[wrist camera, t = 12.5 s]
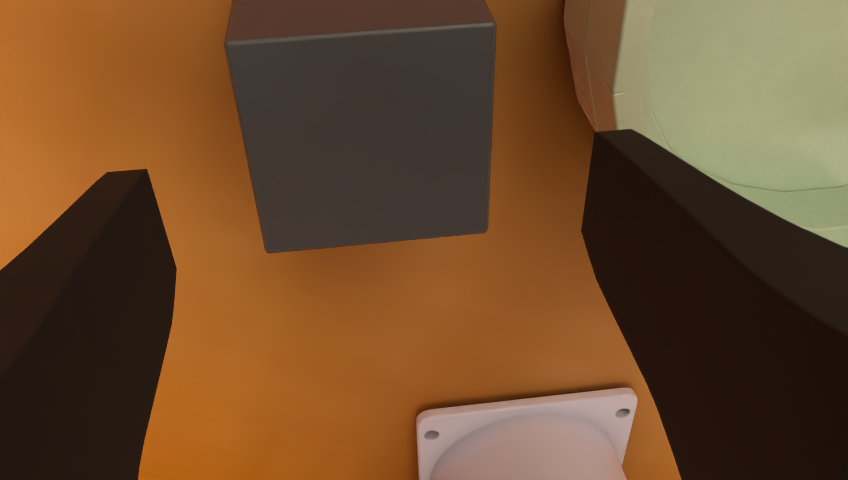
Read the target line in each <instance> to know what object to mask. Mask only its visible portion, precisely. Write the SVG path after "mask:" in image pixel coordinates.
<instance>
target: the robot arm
mask: <svg viewBox="0 0 848 480" xmlns="http://www.w3.org/2000/svg"><path fill="white" fill-rule="evenodd" d="M581 231H582V235H583V238H584V241H585V245H586V248H587V252H588V255H589V258H590V261H591V264H592V267H593V270H594V273H595V277H596V280H597V282H598V284H599V286H600V288H601V290H602V293H603V295H604V297H605V299H606V301H607V303H608V305H609V307H610V309H611V311H612V313H613V316H614V318H615V320H616V322H617V324H618V326H619V328H620V330H621V332H622V334H623V336H624V338H625V340H626V342H627V344H628V346H629V348H630V350H631V352H632V354H633V357H634V359H635V361H636V363H637V365H638V367H639V369H640V371H641V373H642V375H643V377H644V379H645V381H646V383H647V385H648V388H649V390H650V392H651V395H652V397H653V399H654V402H655V404H656V407H657V409H658V412H659V415H660V418H661V421H662V423H663V426H664V429H665V432H666V435H667V438H668V440H669V443H670V446H671V449H672V452H673V455H674V457H675V461H676V464H677V467H678V470H679V473H680V476H681V479H682V480H848V248H847V247H844V246H842V245H839V244H837V243H835V242H833V241H830V240H828V239H826V238H824V237H822V236H819V235H817V234H815V233H813V232H810V231H808V230H806V229H804V228H801V227H799V226H797V225H795V224H793V223H791V222H789V221H787V220H785V219H783V218H781V217H779V216H777V215H776V214H774V213H772V212H770V211H768V210H766V209H764V208H763V207H761V206H759V205H757V204H755V203H753V202H752V201H750V200H748V199H746V198H744V197H743V196H741V195H739V194H737V193H736V192H734V191H732V190H731V189H729V188H727V187H726V186H724V185H722V184H721V183H719V182H717V181H716V180H714V179H712V178H711V177H709V176H708V175H706V174H704V173H703V172H701V171H700V170H698V169H696V168H695V167H693V166H692V165H690V164H688V163H687V162H685V161H684V160H682V159H681V158H679V157H677V156H676V155H674V154H673V153H671V152H670V151H668V150H666V149H665V148H663V147H662V146H660V145H659V144H657V143H655V142H654V141H652V140H650V139H649V138H647V137H645V136H644V135H642V134H640V133H638V132H636V131H634V130H633V129H622V130H610V131H598V132H595V135H594V142H593V149H592V157H591V164H590V171H589V178H588V185H587V193H586V200H585V207H584V214H583V222H582V229H581ZM176 270H177V268H176V265H175V262H174V258H173V255H172V251H171V248H170V245H169V241H168V238H167V235H166V231H165V228H164V225H163V221H162V218H161V215H160V211H159V208H158V204H157V201H156V198H155V194H154V191H153V188H152V184H151V181H150V178H149V174H148V171H147V169H140V170H128V171H116V172H107V173H106V174H104V175H103V176H102V177H101V178H100V179H99V180H97V181H96V182H95V183H94V184H93V185H92V186H91V187H90V188H89V189H88V190H87V191H86V192H85V193H84V194H83V195H82V196H81V197H80V198H79V199H78V200H76V201H75V202H74V203H73V204H72V205H71V206H70V207H69V208H68V209H67V210H66V211H65V212H64V213H63V214H62V215H61V216H60V217H59V218H58V219H57V220H56V221H55V222H54V223H53V224H52V225H50V226H49V227H48V228H47V229H46V230H45V231H44V232H43V233H42V234H41V235H40V236H39V237H38V238H37V239H36V240H35V241H34V242H33V243H31V244H30V245H29V246H28V247H27V248H26V249H25V250H24V251H22V252H21V253H20V254H19V255H18V256H17V257H15V258H14V259H13V260H12V261H11V262H10V263H8V264H7V265H6V266H5V267H4V268H3V269H1V270H0V480H138V474H139V466H140V461H141V455H142V450H143V445H144V439H145V435H146V431H147V427H148V423H149V418H150V414H151V410H152V406H153V402H154V398H155V393H156V389H157V385H158V381H159V377H160V373H161V368H162V364H163V360H164V356H165V351H166V347H167V343H168V338H169V334H170V329H171V325H172V318H173V308H174V298H175V284H176ZM637 402H638V399H637V396H636V394H635V392H634V391H633V389H630V388H614V389H605V390H596V391H588V392H579V393H570V394H561V395H552V396H543V397H535V398H526V399H517V400H508V401H499V402H491V403H482V404H473V405H464V406H455V407H446V408H438V409H429V410H425V411H423V412H421V413H420V414H419V415H418V416H417V418H416V431H417V454H418V478H419V480H627V479H626V477H625V474H624V472H623V469H622V464H623V460H624V455H625V451H626V447H627V443H628V439H629V435H630V431H631V427H632V423H633V419H634V415H635V410H636V406H637Z"/></svg>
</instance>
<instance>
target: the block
mask: <svg viewBox="0 0 848 480" xmlns="http://www.w3.org/2000/svg"><path fill="white" fill-rule="evenodd" d="M224 47H225V52H226V57H227V62H228V67H229V72H230V77H231V82H232V87H233V92H234V97H235V102H236V107H237V112H238V117H239V122H240V127H241V132H242V137H243V142H244V147H245V152H246V157H247V162H248V167H249V172H250V177H251V182H252V187H253V192H254V197H255V202H256V207H257V212H258V217H259V222H260V227H261V232H262V237H263V242H264V247H265V250H266V252H267V253H280V252H290V251H301V250H311V249H322V248H332V247H343V246H353V245H364V244H374V243H385V242H395V241H406V240H416V239H427V238H437V237H448V236H458V235H469V234H479V233H486V232H487V230H488V219H489V195H490V171H491V146H492V122H493V97H494V73H495V49H496V23H495V20H494V18H493V16H492V14H491V12H490V10H489V8H488V6H487V4H486V2H485V0H233V1H232V6H231V11H230V16H229V21H228V27H227V32H226V37H225V42H224Z"/></svg>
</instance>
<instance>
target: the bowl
mask: <svg viewBox="0 0 848 480" xmlns="http://www.w3.org/2000/svg"><path fill="white" fill-rule="evenodd" d="M564 23H565V25H564V28H565V34H566V39H567V45H568V51H569V56H570V62H571V68H572V73H573V79H574V85H575V90H576V96H577V98H578V102H579V104H580V106H581V107H582V109H583V111H584V113H585V115H586V117H587V119H588V121H589V122H590V124H591V126H592V128H593V130H594V132H598V131H610V130H622V129H633V130H634V131H636V132H638V133H640V134H642V135H644V136H645V137H647V138H649V139H650V140H652V141H654V142H655V143H657V144H659V145H660V146H662V147H663V148H665V149H666V150H668V151H670V152H671V153H673V154H674V155H676V156H677V157H679V158H681V159H682V160H684V161H685V162H687V163H688V164H690V165H692V166H693V167H695V168H696V169H698V170H700V171H701V172H703V173H704V174H706V175H708V176H709V177H711V178H712V179H714V180H716V181H717V182H719V183H721V184H722V185H724V186H726V187H727V188H729V189H731V190H732V191H734V192H736V193H737V194H739V195H741V196H743V197H744V198H746V199H748V200H750V201H752V202H753V203H755V204H757V205H759V206H761V207H763V208H764V209H766V210H768V211H770V212H772V213H774V214H776V215H777V216H779V217H781V218H783V219H785V220H787V221H789V222H791V223H793V224H795V225H797V226H799V227H801V228H804V229H806V230H808V231H810V232H813V233H815V234H817V235H819V236H822V237H824V238H826V239H828V240H830V241H833V242H835V243H837V244H839V245H842V246H844V247H847V248H848V0H566V1H565V11H564Z"/></svg>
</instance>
